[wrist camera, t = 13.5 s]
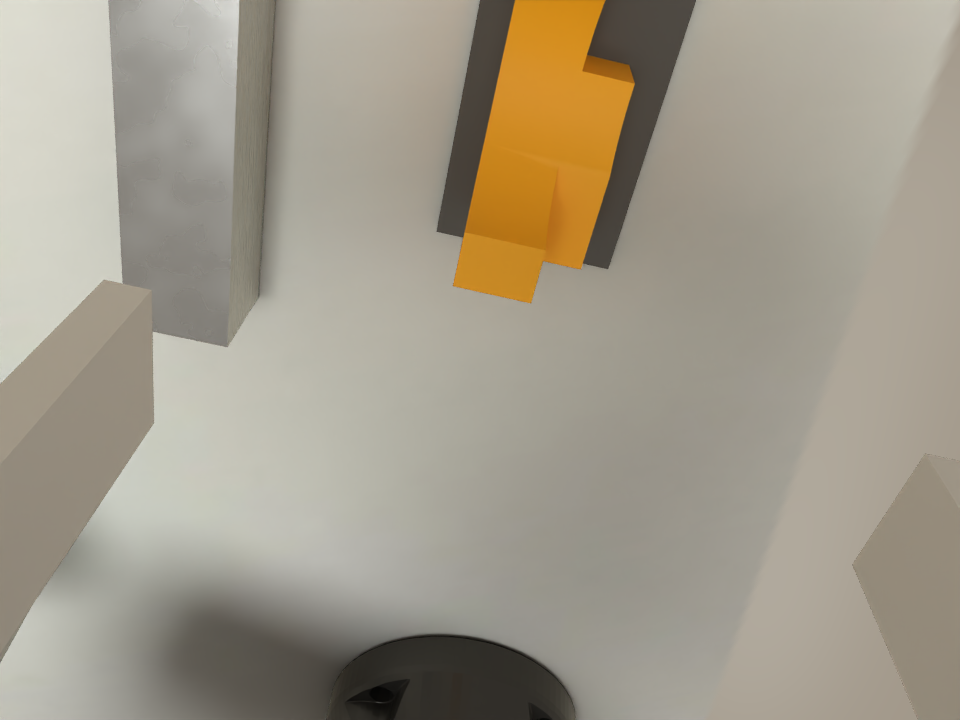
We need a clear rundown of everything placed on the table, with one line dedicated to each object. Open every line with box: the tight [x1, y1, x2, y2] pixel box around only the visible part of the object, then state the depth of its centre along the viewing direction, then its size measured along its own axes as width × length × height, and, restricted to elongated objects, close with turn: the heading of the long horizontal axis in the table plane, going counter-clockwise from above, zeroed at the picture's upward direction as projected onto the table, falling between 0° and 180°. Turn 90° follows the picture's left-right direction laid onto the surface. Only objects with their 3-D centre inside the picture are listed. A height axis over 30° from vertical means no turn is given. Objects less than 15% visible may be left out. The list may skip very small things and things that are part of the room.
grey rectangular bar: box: [109, 0, 275, 347], centre depth 29 cm, size 14×4×4 cm, turn 168°
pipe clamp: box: [453, 0, 635, 303], centre depth 26 cm, size 12×4×6 cm, turn 168°
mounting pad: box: [437, 0, 696, 269], centre depth 29 cm, size 14×7×1 cm, turn 168°
